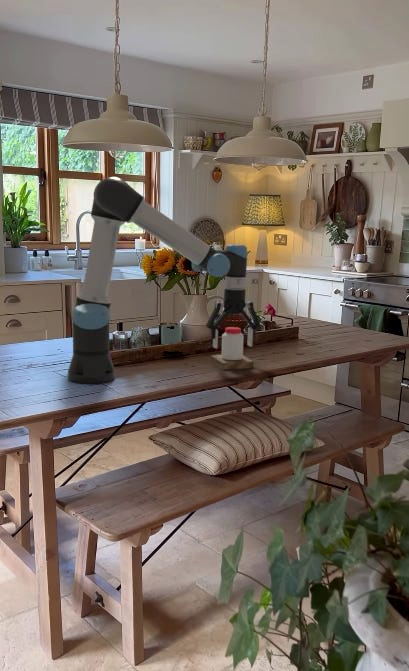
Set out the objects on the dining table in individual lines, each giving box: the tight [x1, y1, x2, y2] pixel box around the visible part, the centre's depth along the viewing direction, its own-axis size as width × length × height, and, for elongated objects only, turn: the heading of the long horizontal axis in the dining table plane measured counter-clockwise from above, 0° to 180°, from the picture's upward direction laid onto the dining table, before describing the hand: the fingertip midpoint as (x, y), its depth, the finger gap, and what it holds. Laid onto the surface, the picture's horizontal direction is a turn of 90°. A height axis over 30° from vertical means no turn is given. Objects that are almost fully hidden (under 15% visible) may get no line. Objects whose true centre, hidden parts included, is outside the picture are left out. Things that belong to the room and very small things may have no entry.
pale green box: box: [160, 324, 182, 345], centre depth 238 cm, size 8×8×10 cm
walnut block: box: [210, 354, 255, 371], centre depth 222 cm, size 12×12×3 cm
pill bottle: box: [221, 326, 244, 360], centre depth 221 cm, size 8×8×11 cm
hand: (232, 346), depth 221 cm, fingers open, 13 cm apart
